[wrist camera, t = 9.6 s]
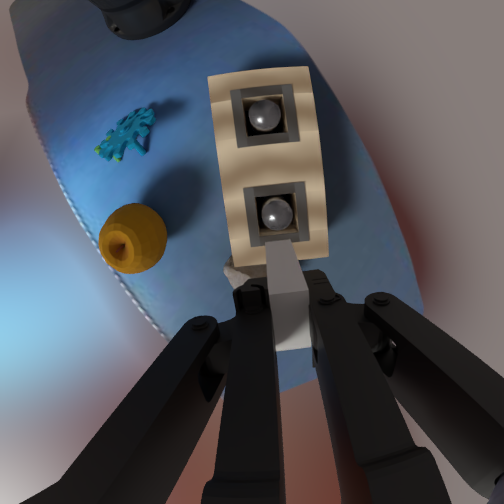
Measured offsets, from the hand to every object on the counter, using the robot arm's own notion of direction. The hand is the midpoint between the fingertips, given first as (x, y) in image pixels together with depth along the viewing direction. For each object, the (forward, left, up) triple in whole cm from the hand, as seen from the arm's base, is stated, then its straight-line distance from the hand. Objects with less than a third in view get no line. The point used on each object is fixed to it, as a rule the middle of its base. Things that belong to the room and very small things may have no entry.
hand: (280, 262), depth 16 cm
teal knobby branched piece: (-14, -19, -25) cm, 34 cm away
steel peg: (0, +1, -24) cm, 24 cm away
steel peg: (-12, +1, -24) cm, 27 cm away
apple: (+1, -19, -25) cm, 31 cm away
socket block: (-6, +1, -25) cm, 25 cm away
